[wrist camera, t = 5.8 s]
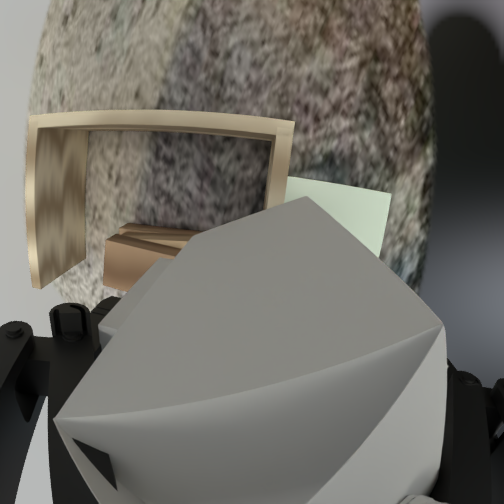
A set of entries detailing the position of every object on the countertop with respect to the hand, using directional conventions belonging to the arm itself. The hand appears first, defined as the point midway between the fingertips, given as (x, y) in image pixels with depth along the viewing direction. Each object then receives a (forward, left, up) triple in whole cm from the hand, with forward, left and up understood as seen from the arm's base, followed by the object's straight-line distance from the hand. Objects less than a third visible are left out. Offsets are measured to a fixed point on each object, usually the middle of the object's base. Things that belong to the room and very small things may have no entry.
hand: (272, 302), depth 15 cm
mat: (+1, +7, -20) cm, 21 cm away
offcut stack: (+5, -11, -20) cm, 23 cm away
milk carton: (0, 0, -5) cm, 5 cm away
